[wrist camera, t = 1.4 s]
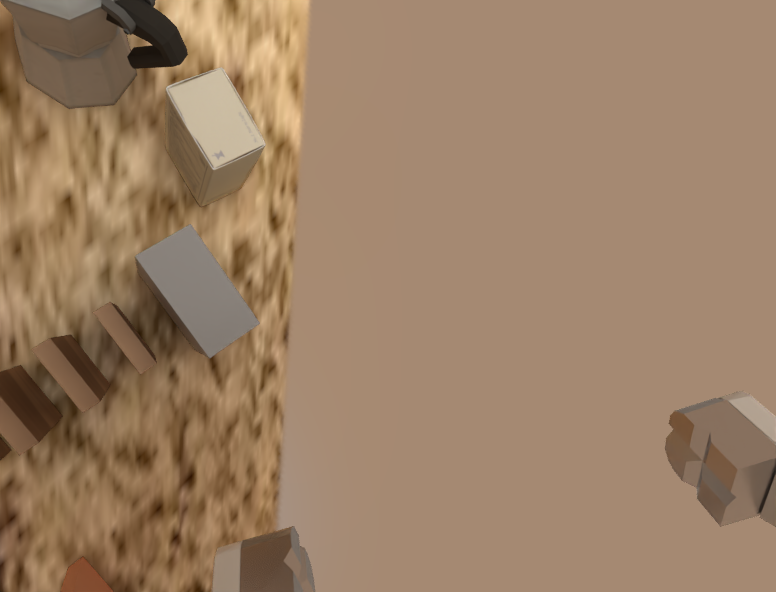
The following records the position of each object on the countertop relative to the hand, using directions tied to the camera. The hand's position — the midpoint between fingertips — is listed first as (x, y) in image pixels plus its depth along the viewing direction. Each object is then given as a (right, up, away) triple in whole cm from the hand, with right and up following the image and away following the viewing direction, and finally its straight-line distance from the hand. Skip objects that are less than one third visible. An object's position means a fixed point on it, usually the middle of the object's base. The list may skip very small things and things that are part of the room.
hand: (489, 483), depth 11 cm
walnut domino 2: (-27, -2, +31) cm, 41 cm away
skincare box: (-19, +15, +36) cm, 43 cm away
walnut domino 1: (-29, -4, +30) cm, 42 cm away
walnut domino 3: (-24, +1, +33) cm, 40 cm away
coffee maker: (-27, +23, +33) cm, 48 cm away
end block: (-20, +4, +35) cm, 40 cm away
